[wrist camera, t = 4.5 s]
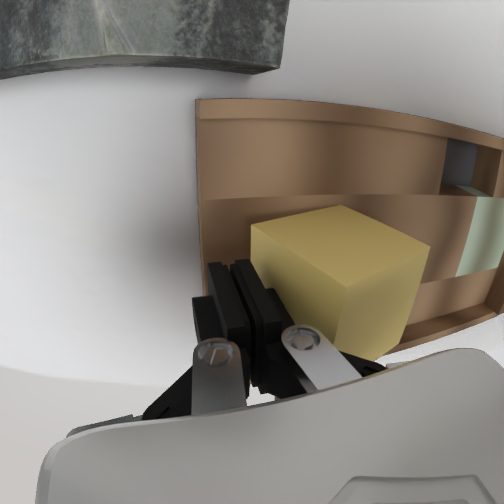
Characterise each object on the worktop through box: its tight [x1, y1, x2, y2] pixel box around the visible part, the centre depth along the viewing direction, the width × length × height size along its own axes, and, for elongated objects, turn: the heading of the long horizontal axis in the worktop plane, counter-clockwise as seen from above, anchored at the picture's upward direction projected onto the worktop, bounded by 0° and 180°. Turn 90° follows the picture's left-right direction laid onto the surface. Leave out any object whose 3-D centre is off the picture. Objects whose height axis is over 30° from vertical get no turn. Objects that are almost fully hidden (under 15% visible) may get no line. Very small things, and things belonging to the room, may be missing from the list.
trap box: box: [195, 98, 504, 384], centre depth 17 cm, size 24×14×4 cm, turn 89°
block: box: [251, 205, 430, 362], centre depth 13 cm, size 5×5×5 cm
